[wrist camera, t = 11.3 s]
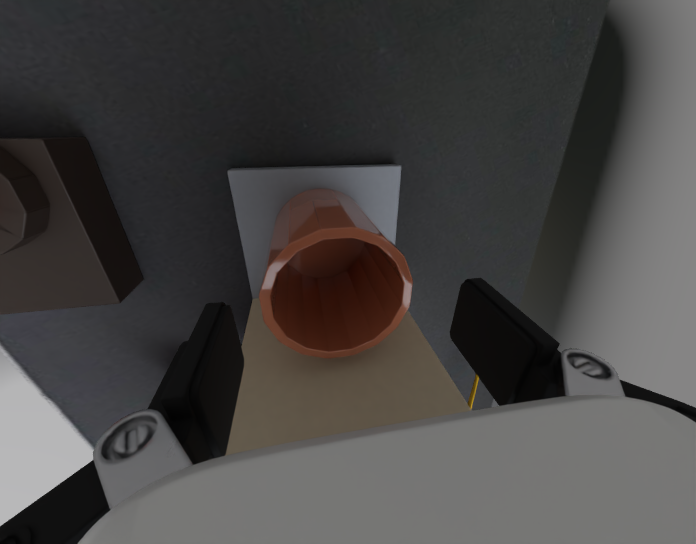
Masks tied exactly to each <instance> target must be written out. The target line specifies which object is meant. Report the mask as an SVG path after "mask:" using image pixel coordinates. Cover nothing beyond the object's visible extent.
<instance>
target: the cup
mask: <svg viewBox="0 0 696 544" xmlns="http://www.w3.org/2000/svg"><path fill="white" fill-rule="evenodd" d="M412 285H413V279H412V276H411V273H410V270H409V267H408V265H407V262H406V259H405V257H404V255H403V254H402V253H401V252H400V251H399V249H398V248H397V247H396V246H395V245H394V244H393V243H392V241H391V240H390V239H389V238H388V237H387V236H386V235H385V234H384V232H383V231H382V230H381V229H380V228H379V227H378V226H377V225H376V223H375V222H374V221H373V220H372V219H371V218H370V217H369V216H368V214H367V213H366V212H365V211H364V210H363V209H362V208H361V207H360V206H359V205H358V204H357V203H356V202H355V201H354V200H353V199H352V198H351V197H349V196H347V195H346V194H344V193H342V192H339V191H336V190H333V189H326V188H318V189H311V190H307V191H304V192H302V193H299V194H298V195H296V196H294V197H293V198H291V199H290V200H289V201H288V202H287V203H286V204H285V205H284V206H283V207H282V208H281V210H280V211H279V213H278V214H277V216H276V220H275V222H274V226H273V230H272V233H271V238H270V243H269V248H268V253H267V257H266V262H265V267H264V272H263V277H262V282H261V287H260V292H259V300H260V306H261V311H262V316H263V321H264V323H265V324H266V325H267V327H268V328H269V329H270V331H271V332H272V333H273V335H274V336H275V337H276V338H277V340H278V341H279V342H280V343H282V344H284V345H286V346H287V347H289V348H291V349H293V350H295V351H296V352H298V353H300V354H302V355H308V356H314V357H320V358H326V359H327V358H328V359H330V358H337V357H344V356H352V355H356V354H358V353H360V352H362V351H364V350H367V349H369V348H371V347H373V346H376V345H377V344H379V343H380V342H381V341H383V340H384V339H385V338H386V337H387V336H388V335H389V334H390V333H392V332H393V331H394V330H395V329H396V328H397V327H398V326H399V324H400V322H401V320H402V319H403V317H404V315H405V313H406V311H407V310H408V308H409V306H410V301H411V293H412Z"/></svg>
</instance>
